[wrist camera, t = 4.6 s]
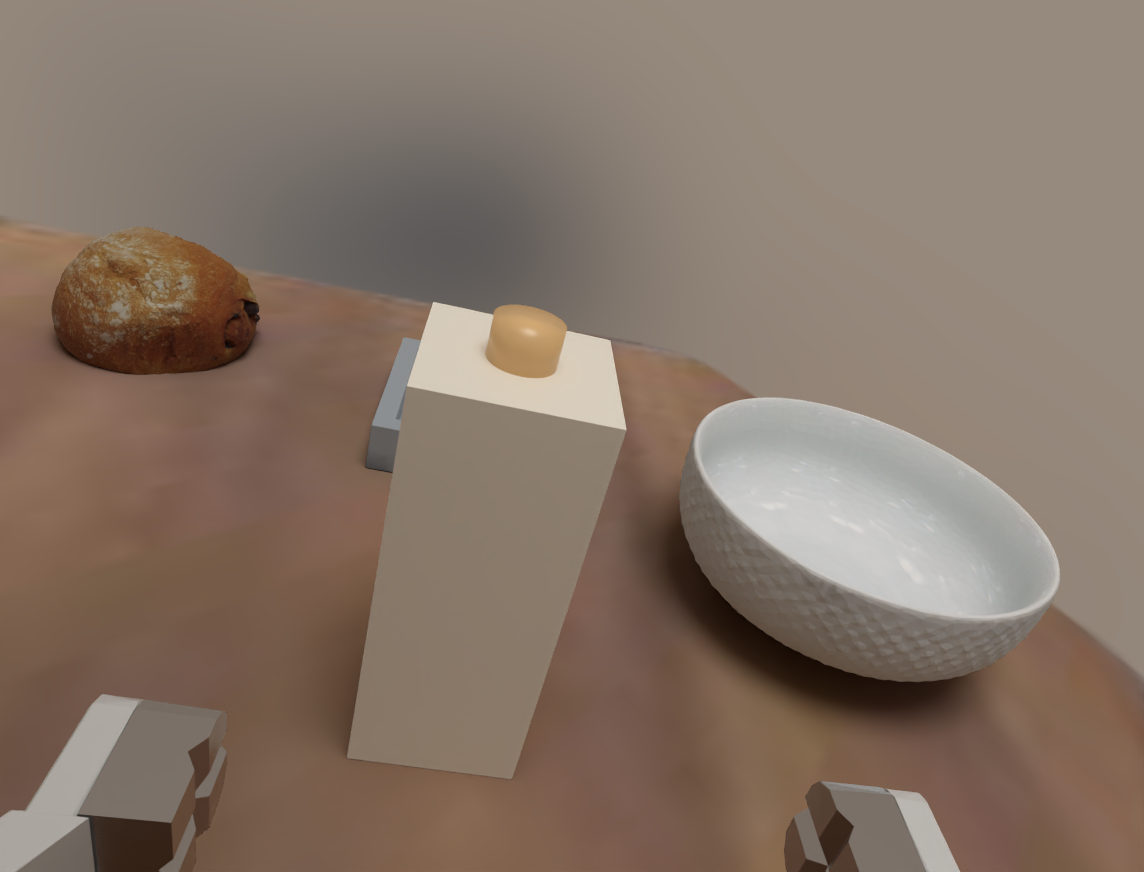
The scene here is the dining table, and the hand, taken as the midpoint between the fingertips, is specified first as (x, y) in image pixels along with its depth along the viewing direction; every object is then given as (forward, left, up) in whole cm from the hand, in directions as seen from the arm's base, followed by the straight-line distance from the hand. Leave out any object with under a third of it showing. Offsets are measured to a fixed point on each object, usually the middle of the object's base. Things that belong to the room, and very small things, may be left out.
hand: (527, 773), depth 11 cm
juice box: (0, +13, -14) cm, 19 cm away
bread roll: (-19, +36, -14) cm, 43 cm away
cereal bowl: (+17, +22, -14) cm, 32 cm away
